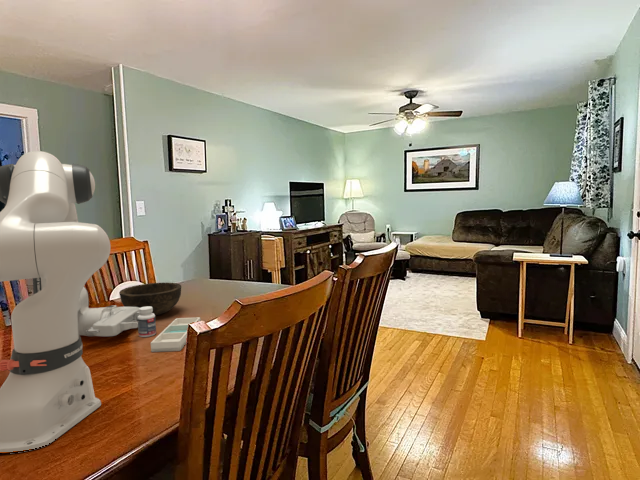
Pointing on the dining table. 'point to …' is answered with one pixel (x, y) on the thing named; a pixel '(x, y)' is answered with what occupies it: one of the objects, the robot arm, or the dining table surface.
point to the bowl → (152, 296)
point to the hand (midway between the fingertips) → (144, 319)
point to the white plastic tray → (173, 336)
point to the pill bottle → (146, 322)
